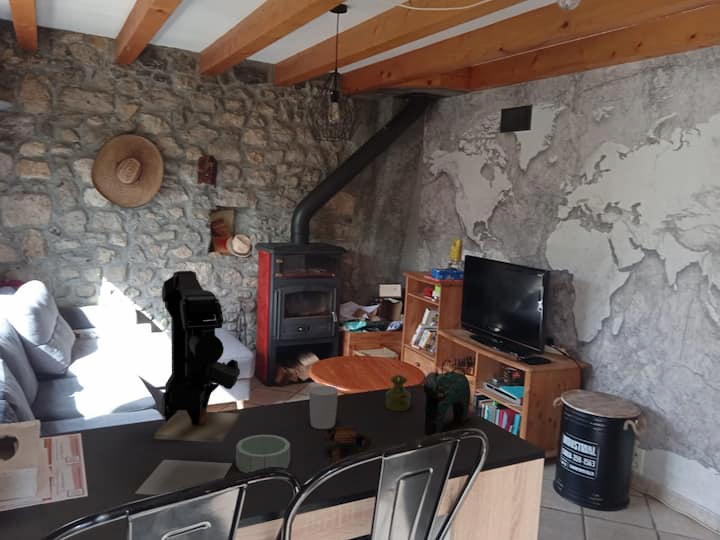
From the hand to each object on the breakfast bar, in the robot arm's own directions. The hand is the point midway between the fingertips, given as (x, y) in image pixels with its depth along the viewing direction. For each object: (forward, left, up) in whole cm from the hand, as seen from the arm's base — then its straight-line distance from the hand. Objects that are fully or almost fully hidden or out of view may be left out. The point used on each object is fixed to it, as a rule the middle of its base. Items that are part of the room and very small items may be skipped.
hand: (198, 421), depth 129 cm
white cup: (+24, +35, -13) cm, 44 cm away
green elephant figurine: (+58, +38, -13) cm, 70 cm away
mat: (-2, -1, -13) cm, 13 cm away
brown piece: (+32, +16, -13) cm, 38 cm away
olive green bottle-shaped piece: (+45, +52, -13) cm, 70 cm away
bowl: (+13, +8, -13) cm, 20 cm away
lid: (0, 0, -2) cm, 2 cm away
